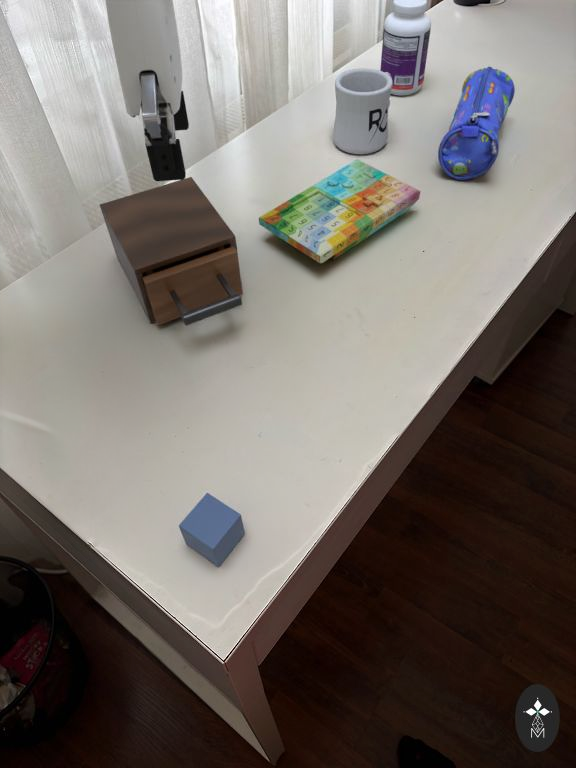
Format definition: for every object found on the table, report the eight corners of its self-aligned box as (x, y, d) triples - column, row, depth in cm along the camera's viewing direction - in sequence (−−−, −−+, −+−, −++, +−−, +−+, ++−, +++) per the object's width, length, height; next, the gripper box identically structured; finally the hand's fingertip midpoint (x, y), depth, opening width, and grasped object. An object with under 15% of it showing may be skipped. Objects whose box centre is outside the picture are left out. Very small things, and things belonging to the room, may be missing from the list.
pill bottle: (403, 73, 113) (412, -12, 102) (431, 89, 109) (444, 1, 98) (369, 86, 111) (376, -1, 100) (397, 102, 107) (407, 13, 95)
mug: (365, 162, 95) (370, 100, 87) (321, 144, 98) (322, 83, 91) (408, 131, 100) (416, 69, 92) (365, 115, 104) (369, 55, 96)
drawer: (262, 322, 72) (257, 279, 66) (174, 356, 69) (162, 314, 63) (203, 236, 83) (195, 194, 77) (125, 262, 80) (111, 220, 74)
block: (218, 567, 54) (212, 550, 51) (185, 544, 55) (177, 525, 52) (245, 533, 56) (241, 514, 52) (212, 511, 57) (207, 492, 54)
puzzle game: (421, 185, 82) (319, 250, 74) (416, 213, 86) (319, 279, 78) (359, 154, 88) (258, 212, 79) (357, 182, 91) (260, 240, 83)
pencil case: (488, 190, 89) (504, 129, 81) (431, 180, 91) (441, 120, 83) (507, 119, 101) (523, 61, 94) (457, 112, 103) (468, 54, 96)
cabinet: (242, 290, 77) (235, 236, 70) (150, 323, 74) (134, 270, 67) (201, 229, 85) (191, 176, 78) (116, 257, 82) (99, 204, 75)
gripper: (101, -68, 54) (143, 115, 67) (72, 2, 43) (129, 203, 57) (183, -73, 54) (209, 110, 68) (174, -5, 43) (207, 198, 57)
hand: (172, 152), depth 62 cm, fingers open, 9 cm apart
